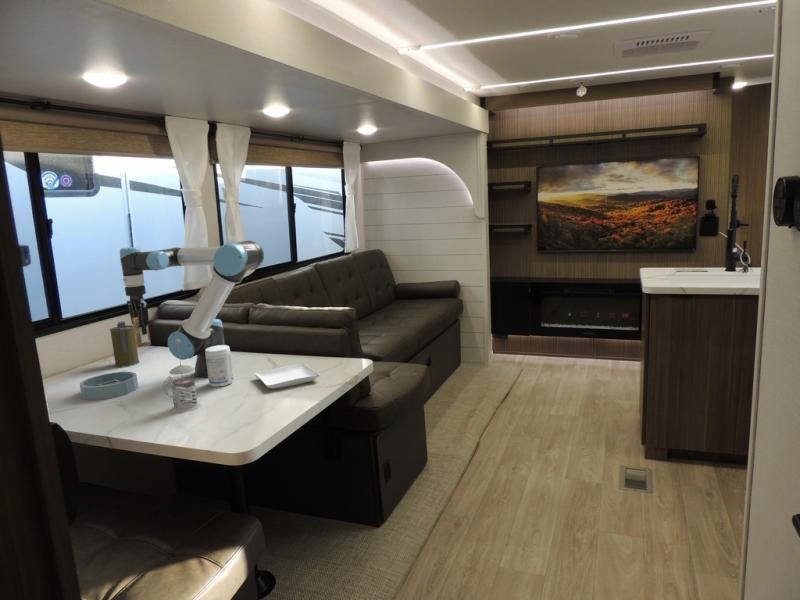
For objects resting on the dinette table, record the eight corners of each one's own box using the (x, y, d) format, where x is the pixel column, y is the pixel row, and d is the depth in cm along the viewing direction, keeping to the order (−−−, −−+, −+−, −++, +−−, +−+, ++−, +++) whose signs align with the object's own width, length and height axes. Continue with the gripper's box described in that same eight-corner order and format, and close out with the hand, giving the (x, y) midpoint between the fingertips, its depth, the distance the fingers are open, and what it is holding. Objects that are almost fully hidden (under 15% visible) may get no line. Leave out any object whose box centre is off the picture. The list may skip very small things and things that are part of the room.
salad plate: (254, 380, 235) (253, 371, 234) (304, 370, 244) (303, 362, 244) (267, 393, 216) (266, 385, 216) (321, 382, 226) (320, 374, 225)
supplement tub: (220, 379, 238) (216, 344, 235) (239, 380, 234) (235, 345, 231) (203, 386, 229) (199, 350, 227) (222, 388, 225) (218, 351, 223)
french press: (205, 406, 206) (197, 337, 201) (173, 416, 198) (164, 344, 194) (193, 400, 213) (184, 334, 208) (161, 410, 205) (152, 341, 201)
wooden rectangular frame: (150, 344, 242) (146, 316, 240) (139, 347, 238) (134, 318, 236) (147, 343, 243) (143, 315, 241) (136, 346, 240) (132, 318, 238)
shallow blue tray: (147, 388, 232) (145, 376, 231) (95, 403, 217) (93, 390, 216) (123, 380, 245) (122, 369, 244) (73, 394, 229) (71, 382, 229)
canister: (115, 363, 274) (109, 322, 271) (139, 359, 279) (133, 318, 275) (114, 368, 265) (108, 325, 261) (139, 364, 269) (133, 322, 265)
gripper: (116, 286, 239) (125, 341, 243) (134, 287, 229) (143, 345, 233) (134, 283, 244) (142, 337, 248) (153, 284, 234) (161, 341, 238)
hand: (142, 341), depth 240 cm, fingers closed on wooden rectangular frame, 2 cm apart
